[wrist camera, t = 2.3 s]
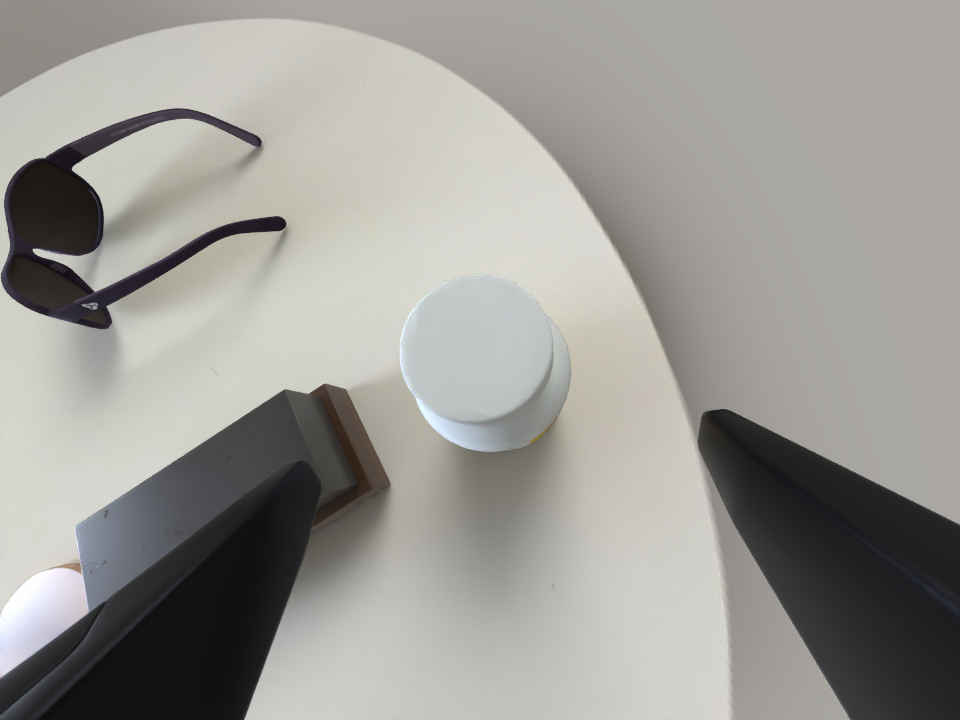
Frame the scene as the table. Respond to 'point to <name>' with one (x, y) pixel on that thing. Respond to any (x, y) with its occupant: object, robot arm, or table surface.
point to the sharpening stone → (231, 483)
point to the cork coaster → (40, 613)
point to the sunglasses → (86, 227)
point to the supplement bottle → (485, 363)
